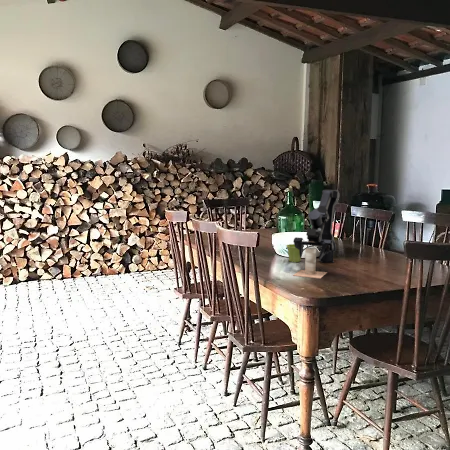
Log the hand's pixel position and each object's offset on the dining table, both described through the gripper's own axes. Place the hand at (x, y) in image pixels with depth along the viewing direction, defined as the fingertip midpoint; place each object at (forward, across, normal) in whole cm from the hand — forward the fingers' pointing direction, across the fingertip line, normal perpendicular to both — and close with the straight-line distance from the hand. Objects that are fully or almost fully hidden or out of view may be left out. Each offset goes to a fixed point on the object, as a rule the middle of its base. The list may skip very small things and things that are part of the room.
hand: (309, 258), depth 230 cm
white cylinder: (+4, 0, +6) cm, 8 cm away
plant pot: (-14, -16, +26) cm, 33 cm away
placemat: (+5, 0, +7) cm, 8 cm away
